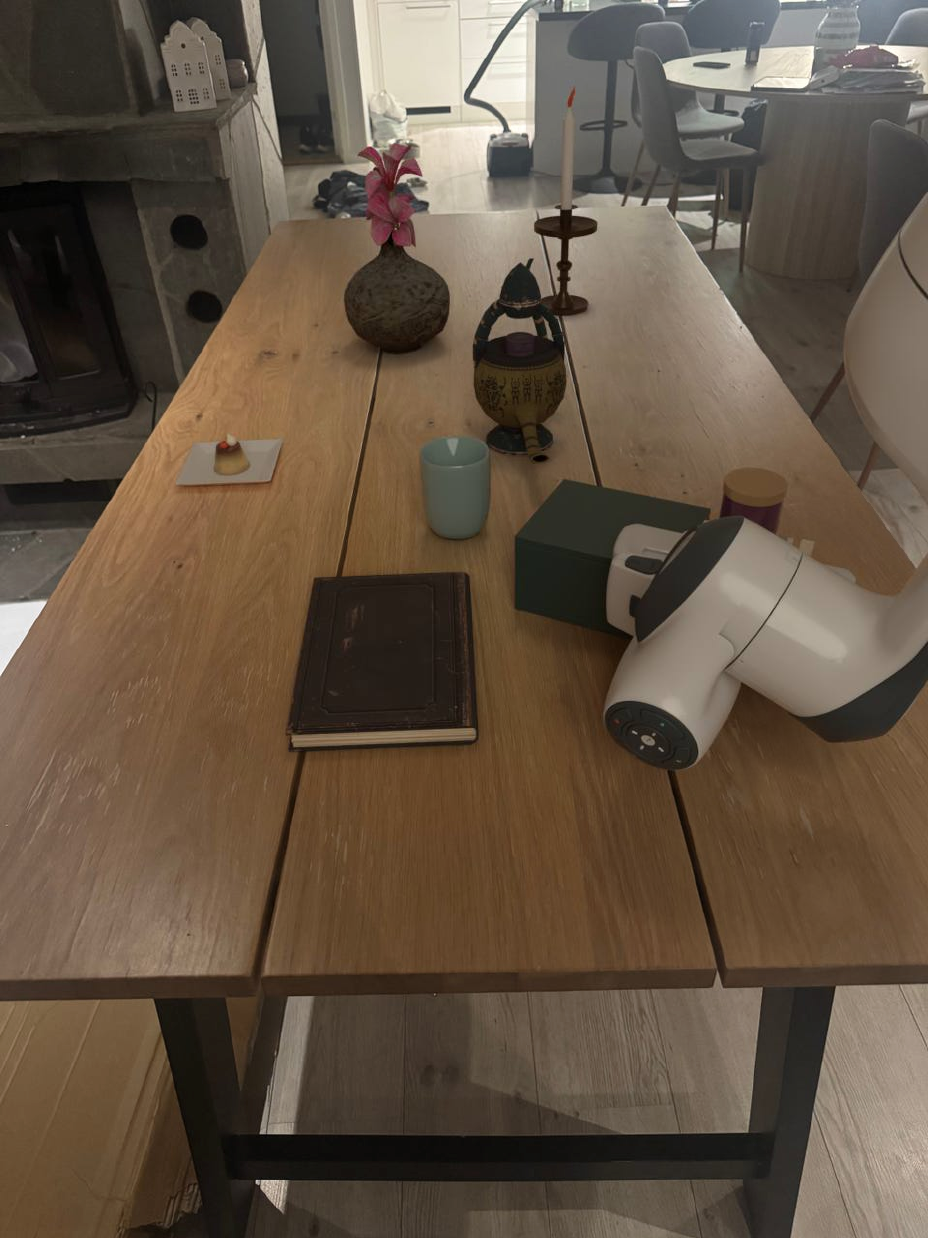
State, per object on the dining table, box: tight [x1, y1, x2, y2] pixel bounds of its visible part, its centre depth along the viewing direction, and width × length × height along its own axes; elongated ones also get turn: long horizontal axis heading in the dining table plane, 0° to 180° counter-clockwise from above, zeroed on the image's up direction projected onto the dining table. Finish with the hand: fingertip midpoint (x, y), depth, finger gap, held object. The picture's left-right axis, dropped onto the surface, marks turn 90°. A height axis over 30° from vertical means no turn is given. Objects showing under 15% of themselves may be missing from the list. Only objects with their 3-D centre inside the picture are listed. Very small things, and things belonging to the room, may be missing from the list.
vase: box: [343, 142, 451, 355], centre depth 146 cm, size 17×18×30 cm
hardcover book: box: [284, 571, 479, 753], centre depth 87 cm, size 16×23×2 cm
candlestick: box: [533, 85, 598, 317], centre depth 157 cm, size 11×11×35 cm
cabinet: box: [514, 478, 711, 641], centre depth 92 cm, size 16×13×9 cm
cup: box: [418, 435, 492, 540], centre depth 103 cm, size 8×8×10 cm
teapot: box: [472, 257, 567, 465], centre depth 114 cm, size 12×25×23 cm, turn 6°
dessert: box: [173, 433, 284, 487], centre depth 119 cm, size 12×12×5 cm
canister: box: [718, 467, 789, 535], centre depth 85 cm, size 5×5×13 cm
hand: (747, 535), depth 85 cm, fingers closed on canister, 5 cm apart
